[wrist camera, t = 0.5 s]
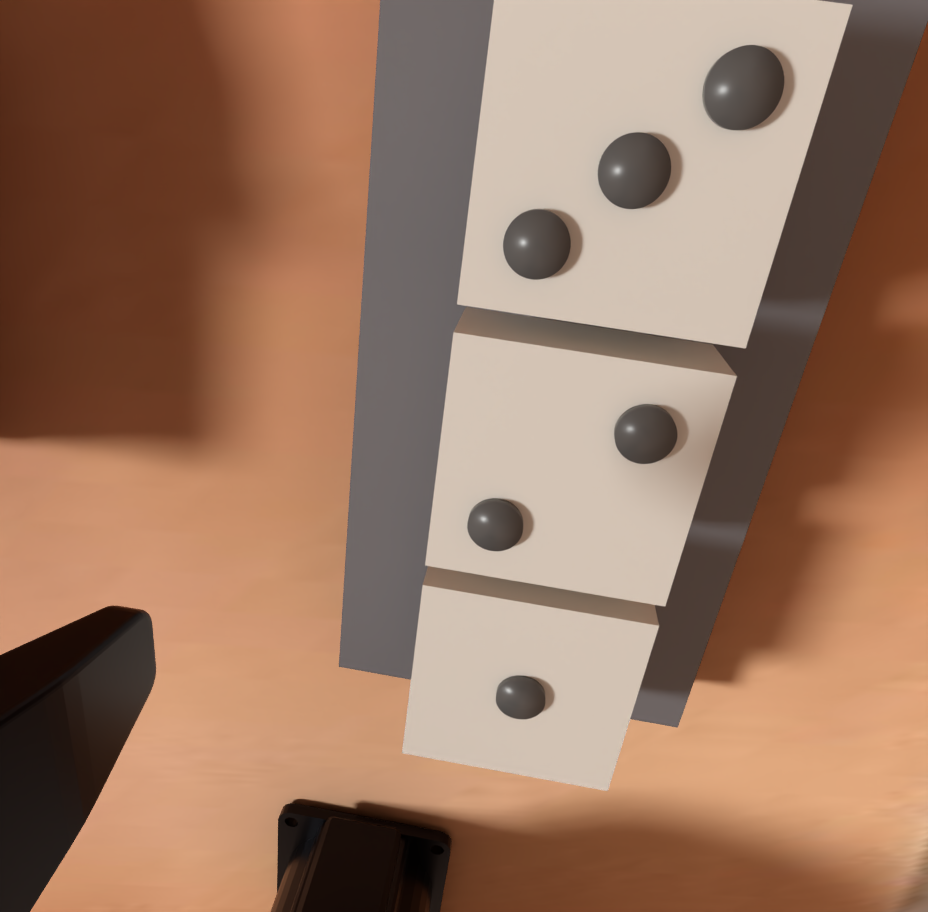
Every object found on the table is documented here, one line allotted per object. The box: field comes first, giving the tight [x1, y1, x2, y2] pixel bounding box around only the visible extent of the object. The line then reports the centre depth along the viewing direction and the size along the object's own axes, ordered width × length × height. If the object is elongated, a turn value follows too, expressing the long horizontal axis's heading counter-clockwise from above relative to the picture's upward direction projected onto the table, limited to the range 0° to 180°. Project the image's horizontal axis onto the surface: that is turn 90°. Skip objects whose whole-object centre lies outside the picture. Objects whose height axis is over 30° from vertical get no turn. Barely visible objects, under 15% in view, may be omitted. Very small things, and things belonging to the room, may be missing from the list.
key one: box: [402, 566, 659, 791], centre depth 16 cm, size 5×5×2 cm
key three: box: [457, 0, 852, 348], centre depth 12 cm, size 5×5×2 cm
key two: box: [425, 307, 737, 606], centre depth 14 cm, size 5×5×2 cm
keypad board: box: [339, 0, 928, 727], centre depth 17 cm, size 18×10×2 cm, turn 173°
